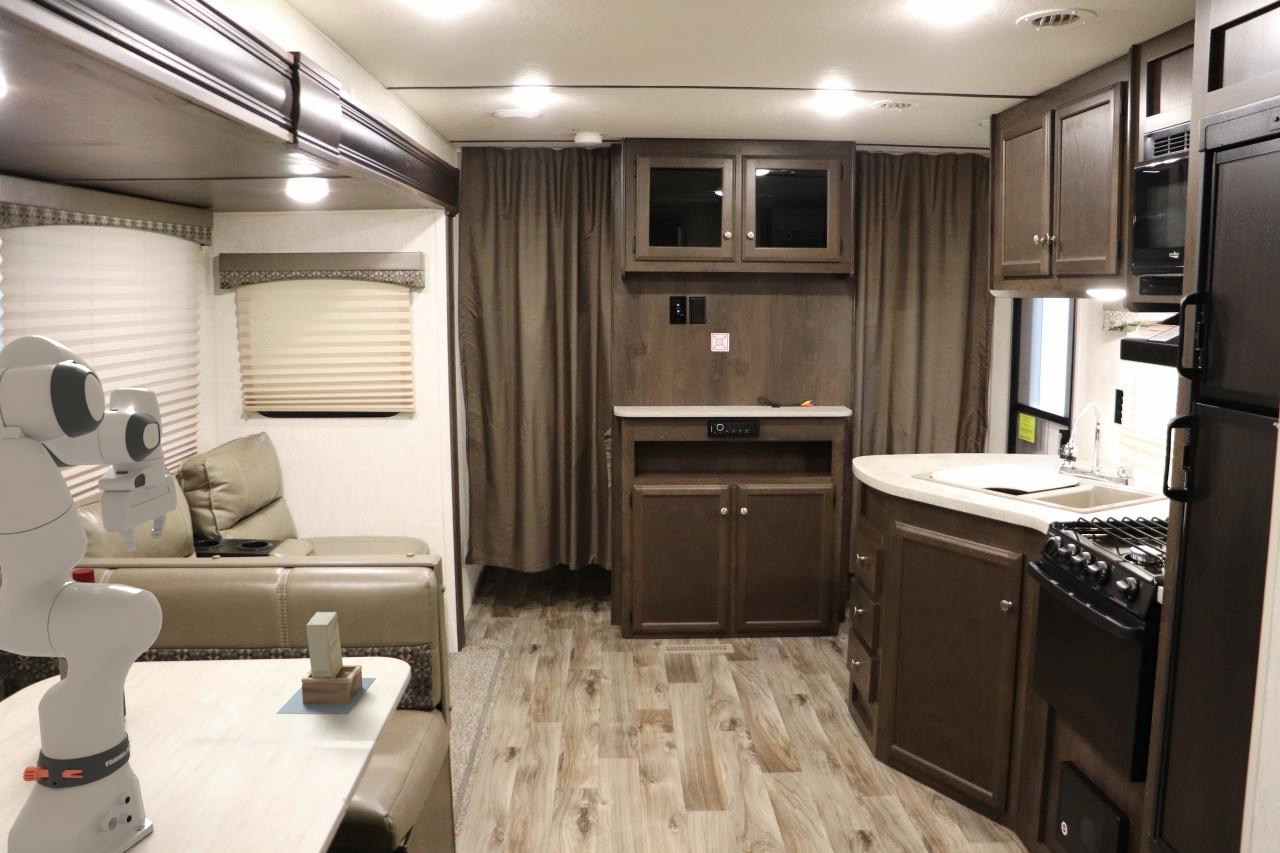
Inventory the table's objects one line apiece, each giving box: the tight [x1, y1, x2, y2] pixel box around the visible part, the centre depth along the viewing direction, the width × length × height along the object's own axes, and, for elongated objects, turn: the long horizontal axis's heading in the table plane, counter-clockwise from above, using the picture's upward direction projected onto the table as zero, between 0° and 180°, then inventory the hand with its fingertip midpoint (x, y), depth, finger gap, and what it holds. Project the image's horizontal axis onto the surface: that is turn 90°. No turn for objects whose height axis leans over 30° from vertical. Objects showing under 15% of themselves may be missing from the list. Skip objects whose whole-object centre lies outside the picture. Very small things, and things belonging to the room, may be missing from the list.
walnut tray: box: [301, 664, 363, 704], centre depth 201 cm, size 9×10×5 cm
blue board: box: [276, 677, 377, 715], centre depth 202 cm, size 18×14×1 cm
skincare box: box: [305, 611, 344, 678], centre depth 200 cm, size 6×4×12 cm
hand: (145, 544), depth 191 cm, fingers open, 8 cm apart
